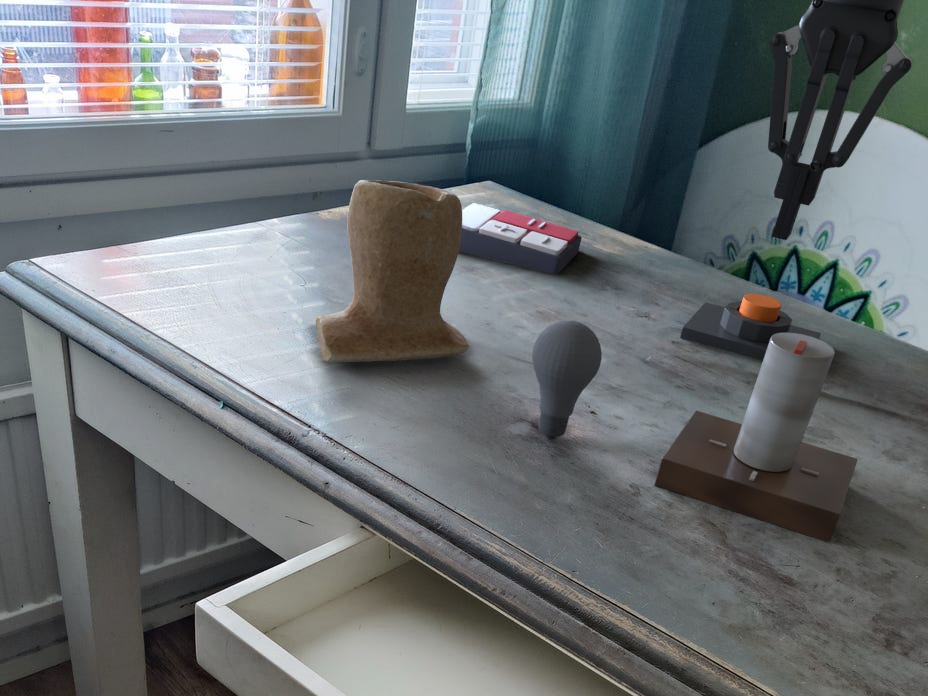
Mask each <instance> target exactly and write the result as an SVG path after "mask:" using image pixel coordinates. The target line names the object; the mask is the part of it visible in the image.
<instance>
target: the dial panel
mask: <svg viewBox="0 0 928 696" xmlns="http://www.w3.org/2000/svg"><path fill="white" fill-rule="evenodd" d="M741 426H742V423H740V422H736V421H733V420H729V419H726V418H722V417H719V416H716V415H712V414H709V413H706V412H703V411H699V410H695V411H694V412H693V414H692V415H691V417H690V418H689V419H688V421H687V422H686V424H685V425H684V427H683V428H682V429H681V431H680V432H679V433H678V435H677V437H676V438H675V439H674V441H673V442H672V444H671V445H670V447H669V448H668V450H666V452H665V454H664V455H663V456H662V458H661V460H660V461H661V462H660V463H659V468H658V472H657V475H656V477H655V478H656V479H655V481H654V486H655V487H658V488H661V489H664V490H667V491H670V492H674V493H676V494H678V495H679V494H680V495H682V496H685V497H688V498H690V499H691V498H692V499H693V500H694V499H695V500H697V501H701V502H704V503H706V504H710V505H714V506H717V507H718V508H722V509H726V510H728V511H732V512H734V513H737V514H740V515H744V516H747V517H751V518H753V519H756V520H758V521H763V522H766V523H769V524H772V525H775V526H778V527H782V528H784V529H787V530H790V531H793V532H797V533H798V534H803V535H806V536H809V537H812V538H814V539H817V540H820V541H824V542H827V543H829V542H830V539H831V538H832V535H833V532H834V530H835V528H836V525H837V523H838V521H839V518H840V516H841V513H842V510H843V506H844V505H845V501H846V497H847V494H848V491H849V488H850V485H851V482H852V478H853V476H854V473H855V469H856V466H857V464H858V463H857V462H858V458H856V457H853V456H849V455H847V454H843V453H840V452H836V451H833V450H829V449H827V448H824V447H819V446H817V445H813V444H810V443H806V442H804V441H802V442H801V445H800V447H799V450H798V453H797V455H796V458H795V461H794V463H793V466H792V467H791V468H790V469H789V470H786V471H783V472H770V471H764V470H760V469H756V468H753V467H751V466H749V465H747V464H745V463H743V462H742V461H740V460H739V459H738V458H737V457H736V456H735V454H734V447H735V444H736V441H737V438H738V435H739V432H740V429H741Z"/></svg>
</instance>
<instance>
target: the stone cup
mask: <svg viewBox="0 0 928 696" xmlns="http://www.w3.org/2000/svg"><path fill="white" fill-rule="evenodd" d="M462 210H463V207H462V202H461V200H460V199H459V197H458V195H456V194H455V193H454V192H449V191H447V190H445V189H442V188H438V187H434V186H431V185H430V186H429V185H423V184H418V183H411V182H406V181H405V182H404V181H397V180H395V181H394V180H382V179H381V180H380V179H360V180H358V181H357V182H356V183H355V185H354V187H353V190H352V193H351V196H350V199H349V205H348V209H347V215H346V228H347V237H348V244H349V245H348V246H349V253H350V261H351V267H352V279H353V295H352V299H351V302H350V303H349V304H348V305H347V307H346V308H344V309H343V310H342V311H338V312H335V313H329V314H324V315H319V316H317V317H316V319H315V328H316V330H317V341H318V342H319V351H320V355H321V357H322V360H323V361H324V362H326V363H327V362H328V363H345V362H346V363H355V362H359V363H361V362H362V363H363V362H365V363H366V362H367V363H368V362H369V363H370V362H395V361H407V360H408V361H409V360H425V359H436V358H443V357H444V358H445V357H453V356H459V355H462V354H465V353H466V352H468V350H469V346H470V345H469V343H468V341H467V339H466V337H465V335H463V334H462V333H461V332H460V331H459V329H457V328H455V327H454V326H453V325H452V324H451V323H449V322H447V321H446V320H444V319H443V317H442V315H441V305H442V302H443V301H442V300H443V296H444V294H445V291H446V287H447V284H448V282H449V280H450V279H451V276H452V274H453V271H454V268H455V265H456V262H457V260H458V256H459V248H460V241H461V231H462Z"/></svg>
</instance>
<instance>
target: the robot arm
mask: <svg viewBox="0 0 928 696" xmlns="http://www.w3.org/2000/svg"><path fill="white" fill-rule="evenodd" d="M904 1H905V0H811V3H810V5H809V6H808V8H807V10H806V11H805V12H804V14H803V15H802V16H801V18H800V20H799V24H797V25H795V26H792V27H791V28H789V29H787V30H785V31H779V32H776V33H774V34H773V35H771V36H770V38H769V42H768V43H769V47H770V51H771V54H772V59H773V63H774V64H773V65H774V66H773V75H772V77H773V79H772V90H771V103H770V104H771V105H770V116H769V128H768V140H767V149H768V151H769V152H770V153H772V154H775V155H776V156H778V157H779V158H780V160H781V163H782V165H781V168H780V170H779V171H780V172H779V174H778V177H777V181H776V184H775V187H774V191H773V197H774V199H779V200H782V201H781V205H780V209H779V211H778V215H777V217H776V221H775V224H774V226H773V230H772V234H771V238H775V239H780V240H783V241H787V240H788V239H789V238H790V236H791V235H792V232H793V230H794V229H793V228H794V226H795V223H796V219H797V217H798V214H799V211H800V208H801V205H803V206H810V205H811V204H812V202H814V200H815V198H816V195H817V192H818V190H819V187H820V184H821V180H822V178H823V175H824V173H825V171H826V170H828V169H834V168H837V169H838V168H841V167H844V165H845V164H847V162H848V161H849V159H850V158H851V156H852V154H853V152H854V151H855V149H856V148H857V146H858V144H859V143H860V141H861V139H862V138H863V136H864V134H865V133H866V131H867V129H868V128H869V126H870V124H871V123H872V121H873V120H874V118H875V116H876V114H877V113H878V111H879V110H880V108H881V107H882V105H883V103H884V101H885V100H886V99H887V96H888V95H889V94H890V91H891V90H892V88H893V87H894V86H895V85H896V84H897V83H898V82H899V81H900V80H901V79H902V78H903V77H904V76H906V75H907V74H908V73H909V72H910V71H911V69H912V68H913V67H914V60H913V57H911V56H907V55H906V53H905V52H904V51H903V50H902V47H900V46H899V44H898V43H897V39H898V35H899V31H898V20H899V16H900V14H901V10H902V7H903V4H904ZM800 39H801V40H802V43H803V48H804V51H805V55H806V57H807V62H808V64H809V66H810V72H809V75H808V78H807V83H806V86H805V89H804V92H803V96H802V99H801V103H800V105H799V109H798V112H797V115H796V117H795V121H794V124H793V127H792V131H791V134H790V138H789V140H787V131H788V130H787V129H788V117H789V107H790V96H791V95H790V94H791V93H790V92H791V84H792V73H793V71H792V70H793V55H795V53H796V52H797V51H798V48H799V41H800ZM884 55H885V57H886V58H885V61H884V62H883V64H882V65H881V73H882V75H883V76H882V78H880V79H879V81H878V82H877V84H876V85H875V87H874V89H873V90H872V92H871V94H870V95H869V97H868V99H867V100H866V102H865V104H864V105H863V107H862V108H861V111H860V112H859V114H858V116H857V118H856V119H855V121H854V123H853V124H852V126H851V128H850V129H849V131H848V133H847V134H846V136H845V138H844V139H843V141H842V143H841V144H840V146H839V147H838V149H837V151H832V150H833V147H834V143H835V141H836V138H837V135H838V131H839V129H840V126H841V123H842V120H843V116H844V114H845V111H846V109H847V105H848V102H849V99H850V96H851V93H852V90H853V88H854V85H855V83H856V80H857V77H859V76H860V75H862V74H863V73H864V72H865V71H867V70H868V69H869V68H870V67H871V66H872V65H873V64H874V63H876V62H877V61H878V60H879V59H881V58H882V56H884ZM829 74H834V75H835V76H838V77H837V81H836V84H835V88H834V93H833V95H832V99H831V101H830V104H829V108H828V110H827V114H826V116H825V119H824V123H823V126H822V128H821V132H820V135H819V138H818V141H817V144H816V147H815V150H814V152H813V156H812V159H811V162H810V163H805V162H800V158H801V157H802V155H803V150H804V147H805V144H806V141H807V138H808V136H809V135H808V134H809V132H810V129H811V126H812V123H813V119H814V117H815V114H816V110H817V107H818V105H819V102H820V98H821V95H822V92H823V88H824V86H825V83H826V81H827V78H828V75H829Z"/></svg>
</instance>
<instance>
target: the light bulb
mask: <svg viewBox="0 0 928 696" xmlns="http://www.w3.org/2000/svg"><path fill="white" fill-rule="evenodd" d="M531 354H532V355H531V356H532V357H531V359H532V367H533V371H534V373H535V375H536V379H537V383H538V386H539V404H538V407H539V411H540V413H539V419H538V420H539V421H538V430H539V432H540V433H541V434H542V435H543V436H545V438H547V439H549V440H554V439H555V440H556V438H559V437H563V435H564V434H565V433H566V430H567V427H568V424H569V419H570V417H571V416H572V415H573V413H574V409H575V405H576V403H577V401H578V399H579V397H580V395H581V394H582V392H583V391H584V390H585V389H586V388H587V387H588V386H589V384H590V383H591V382H592V381H593V379H594V378H595V377H596V375H597V374H598V372H599V369H600V367H601V362H602V358H603V357H602V355H603V353H602V348H601V343H600V340H599V338H598V337H597V334H596V333H595V332H594V331H593V329H591V328H590V327H589V326H588V325H586V324H584V323H583V322H580V321H577V320H571V319H565V320H559V321H556V322H554V323H551V324H550V325H548V326H547V327H546V328H545V329H543V330H542V331H541V332H540V333H539V335H538V337H537V338H536V340H535V342H534V345H533V346H532V353H531Z"/></svg>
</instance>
